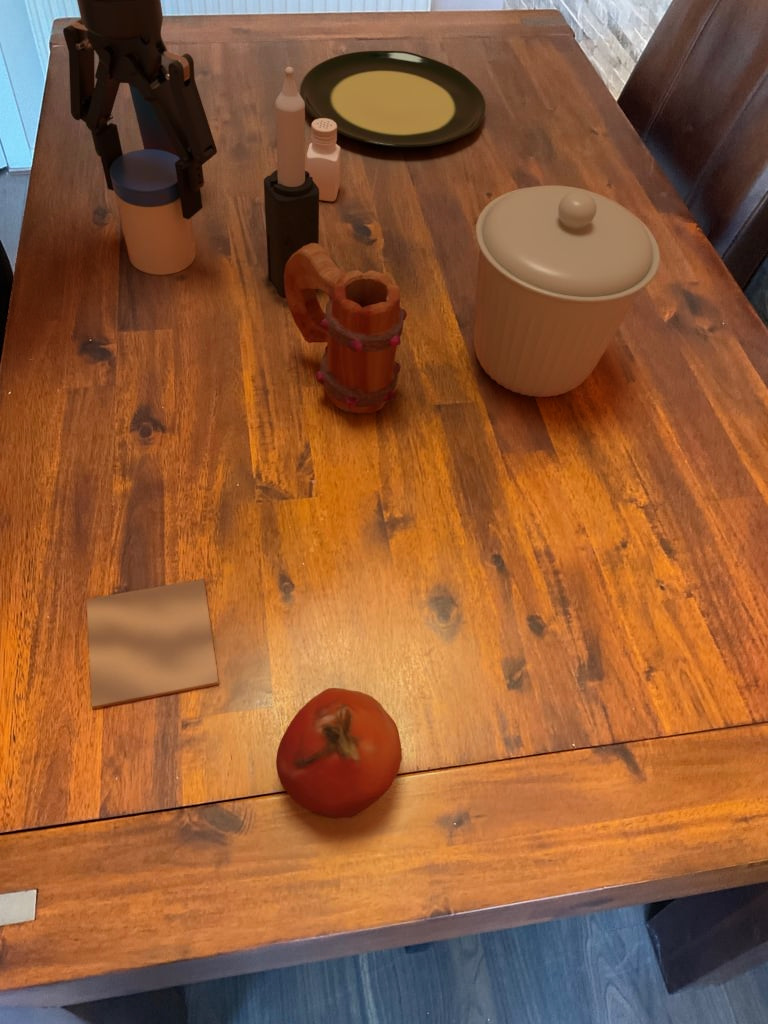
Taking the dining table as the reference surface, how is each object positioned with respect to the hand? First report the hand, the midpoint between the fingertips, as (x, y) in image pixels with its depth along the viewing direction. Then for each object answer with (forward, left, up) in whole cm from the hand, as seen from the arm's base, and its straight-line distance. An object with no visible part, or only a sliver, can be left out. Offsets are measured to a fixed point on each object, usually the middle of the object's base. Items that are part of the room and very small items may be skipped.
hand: (154, 198), depth 91 cm
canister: (+46, +6, -8) cm, 47 cm away
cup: (-6, +11, -8) cm, 15 cm away
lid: (0, 0, +3) cm, 3 cm away
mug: (+29, -8, -8) cm, 31 cm away
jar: (0, 0, -8) cm, 8 cm away
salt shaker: (+10, +22, -8) cm, 25 cm away
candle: (+16, +4, -8) cm, 18 cm away
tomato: (+49, -45, -8) cm, 67 cm away
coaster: (+30, -43, -8) cm, 53 cm away
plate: (+8, +47, -8) cm, 48 cm away
